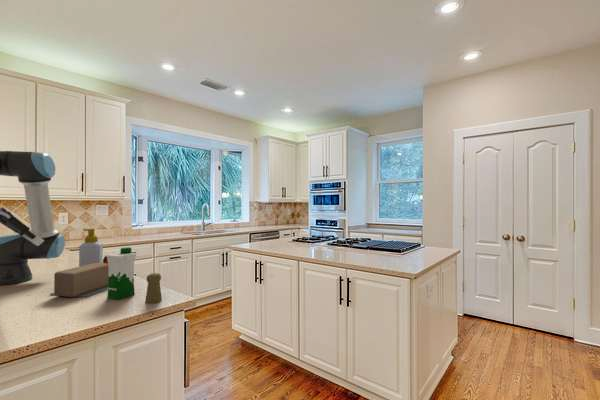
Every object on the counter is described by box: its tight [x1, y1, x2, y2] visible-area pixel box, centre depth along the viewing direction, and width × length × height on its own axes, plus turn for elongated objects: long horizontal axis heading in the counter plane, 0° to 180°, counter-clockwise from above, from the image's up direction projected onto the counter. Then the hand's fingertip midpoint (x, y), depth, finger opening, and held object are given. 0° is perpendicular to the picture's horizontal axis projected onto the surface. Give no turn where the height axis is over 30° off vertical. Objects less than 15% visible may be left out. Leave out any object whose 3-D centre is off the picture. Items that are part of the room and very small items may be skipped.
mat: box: [49, 286, 108, 298], centre depth 132 cm, size 18×18×1 cm
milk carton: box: [106, 247, 137, 301], centre depth 123 cm, size 9×9×20 cm
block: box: [53, 263, 108, 298], centre depth 130 cm, size 10×10×20 cm
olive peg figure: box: [144, 272, 163, 305], centre depth 117 cm, size 6×6×11 cm
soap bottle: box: [78, 228, 104, 267], centre depth 155 cm, size 9×9×25 cm
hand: (40, 243), depth 112 cm, fingers closed
